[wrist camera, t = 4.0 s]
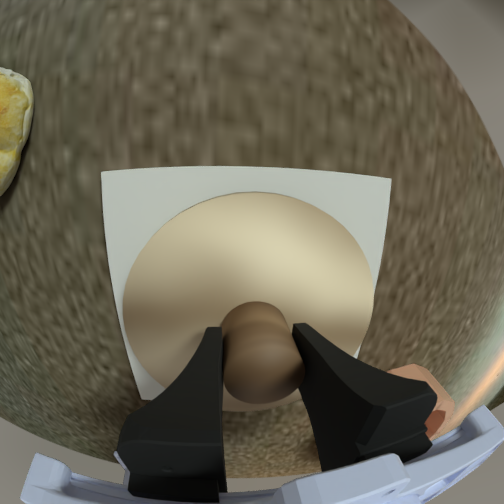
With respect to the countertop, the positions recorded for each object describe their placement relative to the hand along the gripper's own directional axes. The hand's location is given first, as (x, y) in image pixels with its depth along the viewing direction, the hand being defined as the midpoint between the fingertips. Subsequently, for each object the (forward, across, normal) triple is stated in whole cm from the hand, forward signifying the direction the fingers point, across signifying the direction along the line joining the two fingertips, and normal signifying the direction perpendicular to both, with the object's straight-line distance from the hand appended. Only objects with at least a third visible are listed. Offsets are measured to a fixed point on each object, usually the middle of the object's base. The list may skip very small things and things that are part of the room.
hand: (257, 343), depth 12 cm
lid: (+2, 0, 0) cm, 2 cm away
